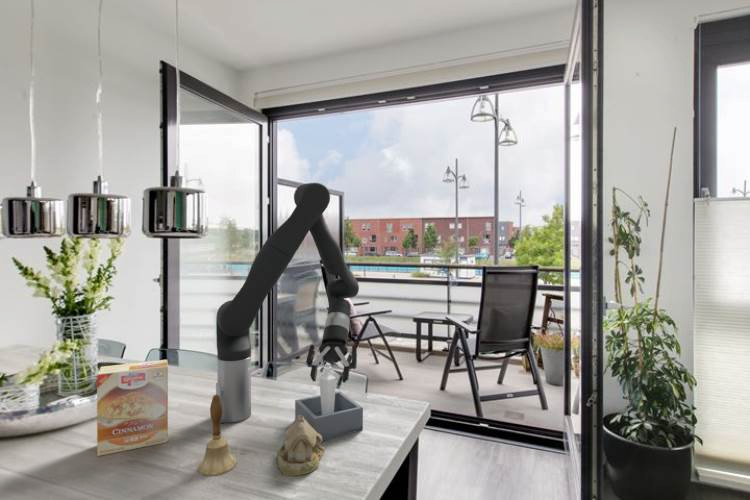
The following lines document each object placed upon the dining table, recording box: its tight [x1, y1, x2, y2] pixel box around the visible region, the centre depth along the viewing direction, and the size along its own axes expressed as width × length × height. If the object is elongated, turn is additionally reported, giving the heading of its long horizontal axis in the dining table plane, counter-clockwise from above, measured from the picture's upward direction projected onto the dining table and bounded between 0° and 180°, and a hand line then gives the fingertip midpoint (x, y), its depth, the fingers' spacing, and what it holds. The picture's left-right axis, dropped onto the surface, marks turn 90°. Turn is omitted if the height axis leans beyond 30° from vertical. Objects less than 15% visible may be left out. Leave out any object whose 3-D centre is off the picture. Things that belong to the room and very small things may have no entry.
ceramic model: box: [276, 415, 325, 477], centre depth 96 cm, size 14×11×10 cm
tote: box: [294, 390, 364, 441], centre depth 113 cm, size 14×14×6 cm
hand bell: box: [197, 394, 238, 477], centre depth 93 cm, size 8×8×16 cm
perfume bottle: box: [318, 365, 337, 415], centre depth 113 cm, size 5×4×15 cm
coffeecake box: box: [96, 359, 169, 457], centre depth 102 cm, size 15×7×20 cm, turn 117°
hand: (328, 380), depth 114 cm, fingers open, 8 cm apart
